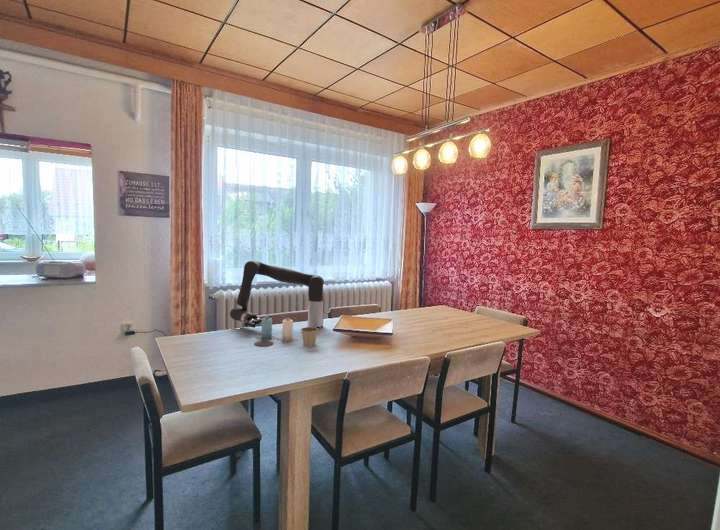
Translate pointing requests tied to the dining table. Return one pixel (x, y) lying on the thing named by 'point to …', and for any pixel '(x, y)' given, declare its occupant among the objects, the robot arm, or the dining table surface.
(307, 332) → the flower pot
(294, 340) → the tile
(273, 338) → the tile
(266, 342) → the mat
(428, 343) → the dining table surface
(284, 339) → the peach pillar candle
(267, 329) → the jar teal
